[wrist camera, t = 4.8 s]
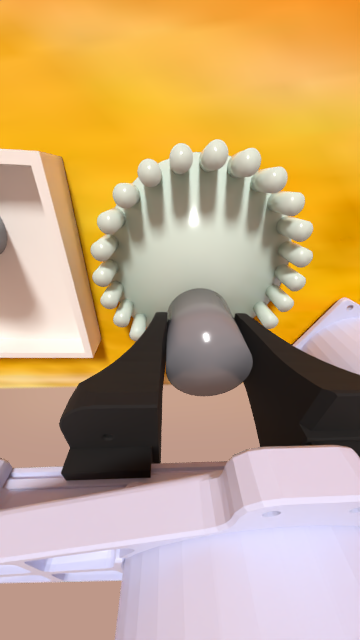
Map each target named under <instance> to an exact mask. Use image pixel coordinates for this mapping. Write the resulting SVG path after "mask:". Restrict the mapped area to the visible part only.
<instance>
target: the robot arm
mask: <svg viewBox="0 0 360 640" xmlns="http://www.w3.org/2000/svg"><path fill="white" fill-rule="evenodd" d="M234 319H235V322H236V324H237V326H238V328H239V330H240V332H241V334H242V336H243V338H244V340H245V342H246V344H247V346H248V349H249V351H250V353H251V355H252V360H253V363H252V369H251V371H250V373H249V375H248V376H247V378H246V379H245V380H244V381H243V382H244V385H245V388H246V391H247V394H248V398H249V401H250V405H251V409H252V413H253V417H254V421H255V424H256V429H257V434H258V439H259V443H260V447H259V448H252V449H247V450H245V451H242V452H239V453H237V454H235V455H233V457H231V459H230V460H229V461H224V462H192V463H163V464H162V463H161V425H162V390H163V381H164V373H165V365H166V339H167V312H156V313H155V315H154V317H153V319H152V321H151V323H150V324H149V326H148V327H147V329H146V330H145V331H144V333H143V334H142V335H141V337H140V338H139V339H138V340H137V341H136V342H135V344H134V345H133V346H132V347H131V348H130V349H129V350H128V351H127V352H126V353H124V354H123V355H122V356H121V357H120V358H119V359H117V360H116V361H115V362H114V363H112V364H111V365H109V366H108V367H107V368H105V369H104V370H102V371H100V372H99V373H97V374H95V375H94V376H92V377H90V378H88V379H87V380H85V381H83V382H81V383H79V385H78V386H77V388H76V389H75V391H74V393H73V394H72V396H71V398H70V399H69V402H68V404H67V406H66V408H65V410H64V412H63V414H62V417H61V419H60V423H59V425H60V429H61V431H62V433H63V435H64V437H65V439H66V441H67V443H68V444H69V446H70V450H69V452H68V455H67V458H66V460H65V463H64V466H62V467H29V468H12V466H11V465H10V463H9V462H8V461H7V460H5V459H2V458H0V583H31V582H81V581H122V584H121V592H120V601H119V609H118V618H117V626H116V634H115V640H360V305H359V304H357V303H355V302H353V301H352V300H350V299H348V298H342V299H340V300H338V301H337V302H336V303H335V304H334V305H333V306H332V307H331V308H330V309H329V310H328V311H327V312H326V313H325V314H324V315H323V316H322V317H321V318H320V319H319V320H318V321H317V322H316V323H315V324H314V325H313V326H312V327H311V328H309V329H308V330H307V331H306V332H305V333H304V334H303V335H302V336H301V337H300V338H299V339H298V340H297V341H296V342H295V343H294V344H293V345H291V344H289V343H287V342H286V341H284V340H283V339H281V338H280V337H278V336H276V335H275V334H274V333H272V332H271V331H269V330H268V329H266V328H265V327H264V326H262V325H261V324H260V323H258V322H257V321H256V320H254V319H253V318H252V317H250V316H249V315H247V314H246V313H235V316H234Z"/></svg>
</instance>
